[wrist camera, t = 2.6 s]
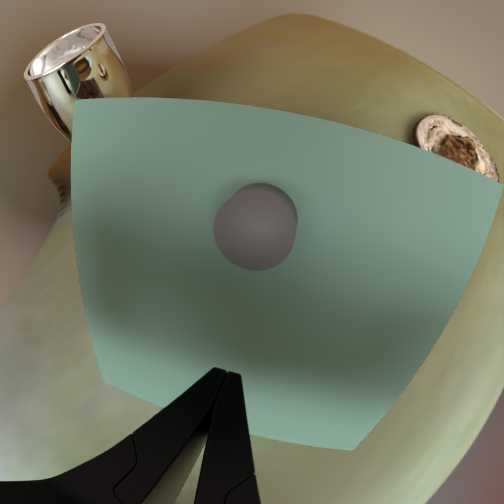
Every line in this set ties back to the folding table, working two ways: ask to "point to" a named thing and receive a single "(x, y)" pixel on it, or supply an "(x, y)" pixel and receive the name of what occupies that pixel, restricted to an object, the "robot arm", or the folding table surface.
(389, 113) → the folding table surface
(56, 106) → the beer glass
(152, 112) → the lid
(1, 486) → the robot arm
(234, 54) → the folding table surface
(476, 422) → the folding table surface
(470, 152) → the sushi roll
